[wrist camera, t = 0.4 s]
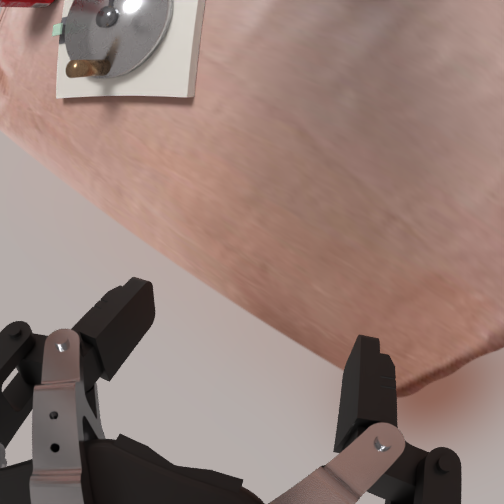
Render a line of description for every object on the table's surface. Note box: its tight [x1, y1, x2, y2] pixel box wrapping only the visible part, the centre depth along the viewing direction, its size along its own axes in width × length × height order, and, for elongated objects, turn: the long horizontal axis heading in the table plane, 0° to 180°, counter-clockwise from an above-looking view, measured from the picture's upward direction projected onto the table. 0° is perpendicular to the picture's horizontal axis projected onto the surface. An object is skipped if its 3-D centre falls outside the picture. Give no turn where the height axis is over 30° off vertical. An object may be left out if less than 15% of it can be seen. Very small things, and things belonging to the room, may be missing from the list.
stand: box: [52, 0, 205, 99], centre depth 31 cm, size 22×23×4 cm
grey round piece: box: [65, 0, 173, 79], centre depth 27 cm, size 17×17×8 cm
